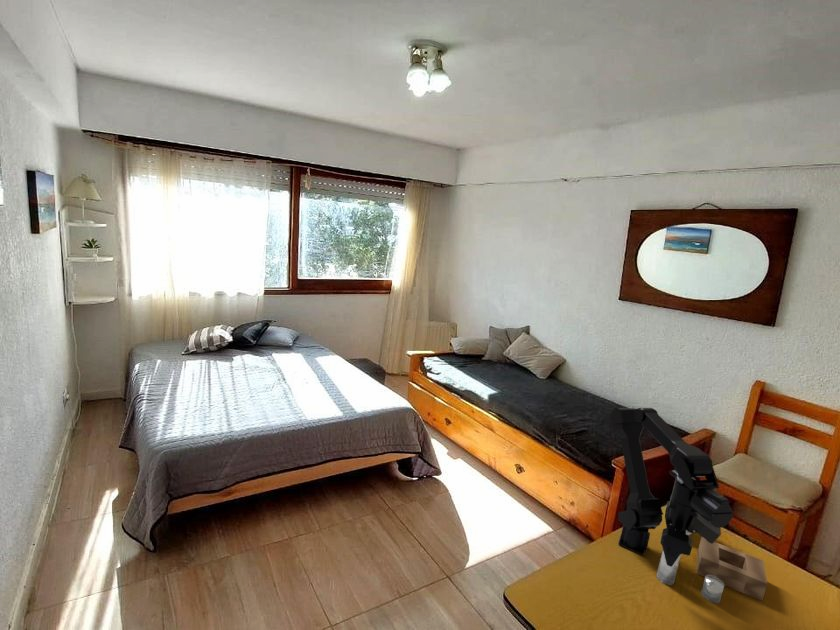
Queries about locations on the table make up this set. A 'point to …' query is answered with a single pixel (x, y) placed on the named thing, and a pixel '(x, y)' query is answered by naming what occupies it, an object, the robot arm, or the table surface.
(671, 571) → the silver upright cylinder
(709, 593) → the short pin
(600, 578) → the table surface
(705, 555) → the hole board
